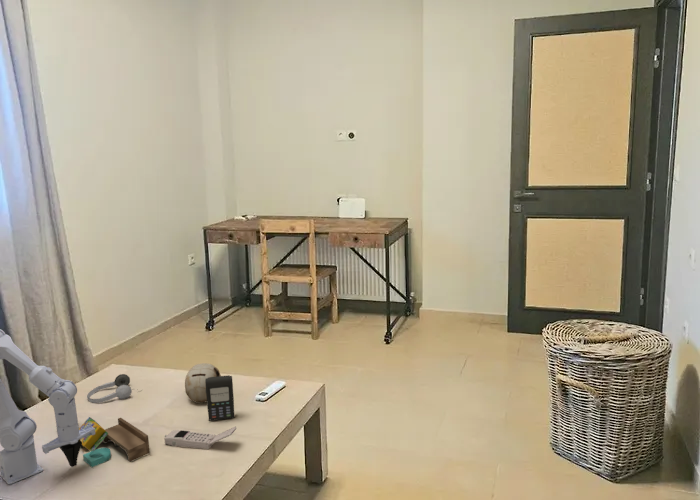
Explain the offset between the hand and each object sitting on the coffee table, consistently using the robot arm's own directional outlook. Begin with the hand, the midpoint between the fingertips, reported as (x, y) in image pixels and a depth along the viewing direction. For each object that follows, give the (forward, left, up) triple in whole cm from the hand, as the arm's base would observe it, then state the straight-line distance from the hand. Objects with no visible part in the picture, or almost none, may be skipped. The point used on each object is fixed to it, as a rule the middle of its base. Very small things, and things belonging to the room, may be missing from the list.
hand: (72, 465), depth 176 cm
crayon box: (+11, +17, +2) cm, 20 cm away
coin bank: (+55, +14, -2) cm, 57 cm away
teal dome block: (+8, 0, -2) cm, 8 cm away
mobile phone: (+33, -16, -2) cm, 36 cm away
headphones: (+32, +40, -2) cm, 51 cm away
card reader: (+48, -7, -2) cm, 48 cm away
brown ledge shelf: (+16, 0, -2) cm, 16 cm away
